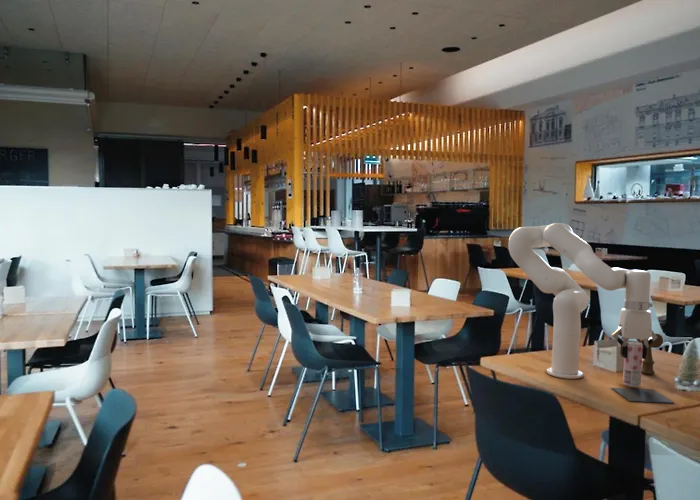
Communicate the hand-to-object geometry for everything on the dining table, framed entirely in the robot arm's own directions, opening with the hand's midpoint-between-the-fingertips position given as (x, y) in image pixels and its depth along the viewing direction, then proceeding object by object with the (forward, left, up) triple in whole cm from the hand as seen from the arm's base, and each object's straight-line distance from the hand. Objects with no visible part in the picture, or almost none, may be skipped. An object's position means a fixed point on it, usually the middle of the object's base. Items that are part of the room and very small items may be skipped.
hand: (633, 357), depth 206 cm
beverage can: (0, 0, -10) cm, 10 cm away
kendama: (-19, +14, -11) cm, 26 cm away
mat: (+10, -1, -11) cm, 15 cm away
